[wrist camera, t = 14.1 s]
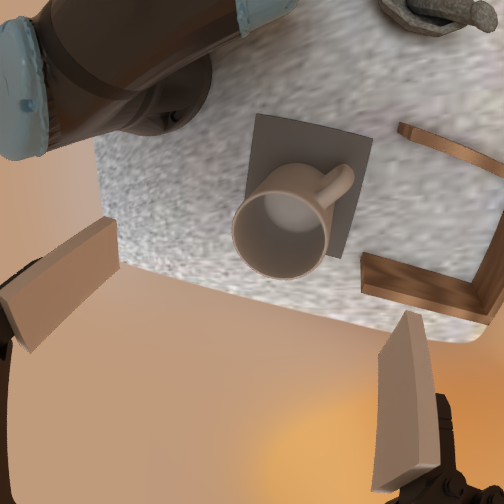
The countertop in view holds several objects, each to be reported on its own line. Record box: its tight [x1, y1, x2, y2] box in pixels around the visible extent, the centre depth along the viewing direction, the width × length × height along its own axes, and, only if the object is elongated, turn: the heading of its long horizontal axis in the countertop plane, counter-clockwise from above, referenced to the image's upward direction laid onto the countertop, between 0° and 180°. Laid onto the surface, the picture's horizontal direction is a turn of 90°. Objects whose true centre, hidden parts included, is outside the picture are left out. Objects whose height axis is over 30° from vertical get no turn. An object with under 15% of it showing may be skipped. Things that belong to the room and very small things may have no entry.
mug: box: [232, 163, 355, 280], centre depth 29 cm, size 12×8×11 cm
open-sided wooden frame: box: [360, 122, 504, 325], centre depth 28 cm, size 18×17×7 cm
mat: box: [245, 114, 373, 259], centre depth 34 cm, size 13×15×1 cm
